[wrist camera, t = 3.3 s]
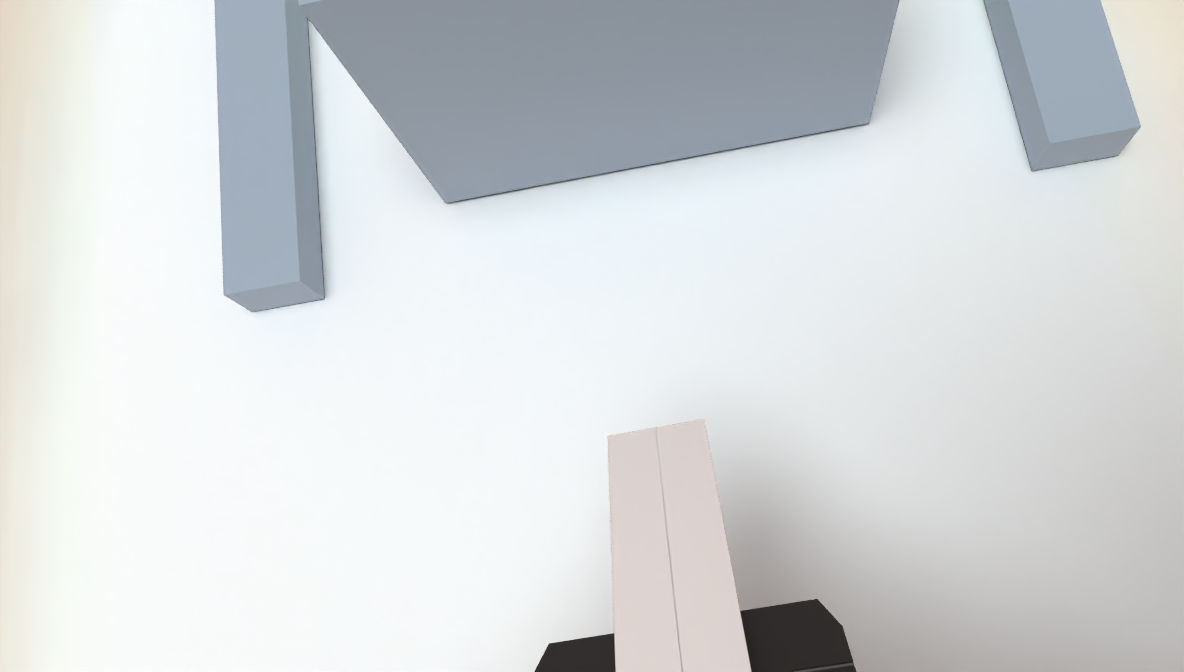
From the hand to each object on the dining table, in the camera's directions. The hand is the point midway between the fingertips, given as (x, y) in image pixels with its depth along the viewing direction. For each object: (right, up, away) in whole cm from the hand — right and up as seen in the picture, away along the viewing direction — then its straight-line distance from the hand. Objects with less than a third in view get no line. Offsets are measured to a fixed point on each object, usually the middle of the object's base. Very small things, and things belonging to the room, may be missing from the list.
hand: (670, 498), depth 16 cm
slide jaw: (0, +8, +10) cm, 13 cm away
